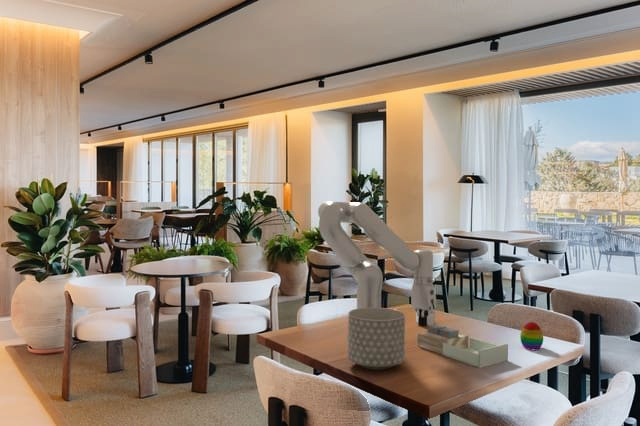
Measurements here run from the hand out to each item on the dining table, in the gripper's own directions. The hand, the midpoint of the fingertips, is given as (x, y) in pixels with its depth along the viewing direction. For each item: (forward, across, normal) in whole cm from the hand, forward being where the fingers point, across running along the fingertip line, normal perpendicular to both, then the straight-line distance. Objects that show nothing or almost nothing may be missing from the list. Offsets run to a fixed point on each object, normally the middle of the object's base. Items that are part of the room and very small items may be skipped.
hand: (422, 326), depth 207 cm
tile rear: (+1, -8, 0) cm, 8 cm away
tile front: (+1, -14, 0) cm, 14 cm away
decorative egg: (+6, -29, -29) cm, 42 cm away
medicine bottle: (+6, +20, -21) cm, 29 cm away
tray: (+6, -26, 0) cm, 27 cm away
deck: (+6, -11, 0) cm, 12 cm away
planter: (+6, -14, +36) cm, 39 cm away
